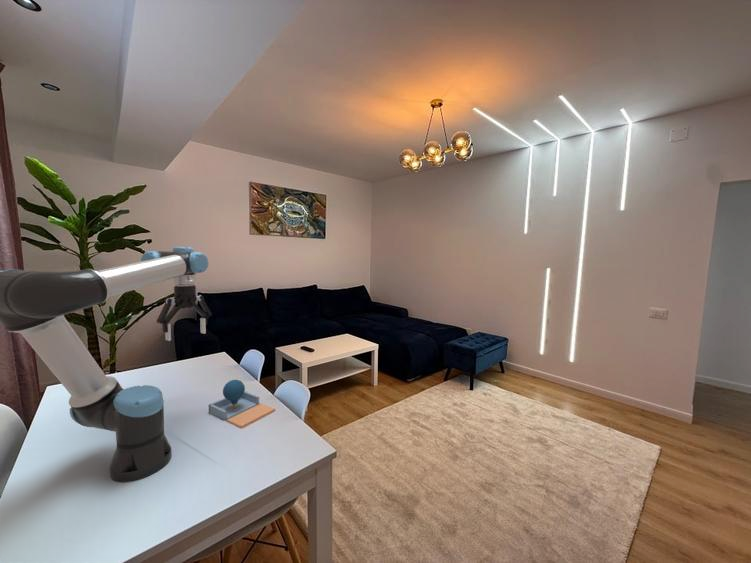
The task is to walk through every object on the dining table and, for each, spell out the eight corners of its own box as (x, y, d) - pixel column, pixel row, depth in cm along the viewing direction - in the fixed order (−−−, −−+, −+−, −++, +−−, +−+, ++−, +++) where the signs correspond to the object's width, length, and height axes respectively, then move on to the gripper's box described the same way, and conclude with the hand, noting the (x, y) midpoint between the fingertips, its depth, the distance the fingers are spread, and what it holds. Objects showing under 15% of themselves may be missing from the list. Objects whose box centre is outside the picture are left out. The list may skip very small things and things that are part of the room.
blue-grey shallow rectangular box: (224, 421, 118) (224, 412, 118) (208, 413, 124) (208, 404, 124) (259, 405, 132) (259, 396, 132) (243, 398, 138) (243, 390, 137)
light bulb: (239, 413, 123) (238, 385, 122) (219, 412, 123) (218, 384, 122) (248, 402, 132) (247, 376, 130) (230, 402, 132) (228, 376, 131)
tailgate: (225, 422, 118) (241, 429, 113) (225, 419, 118) (241, 426, 113) (259, 405, 132) (275, 411, 126) (259, 402, 132) (275, 408, 126)
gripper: (154, 288, 110) (156, 345, 111) (219, 283, 131) (220, 331, 133) (144, 286, 114) (147, 341, 115) (210, 282, 135) (211, 329, 137)
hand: (186, 336), depth 124 cm, fingers open, 13 cm apart
